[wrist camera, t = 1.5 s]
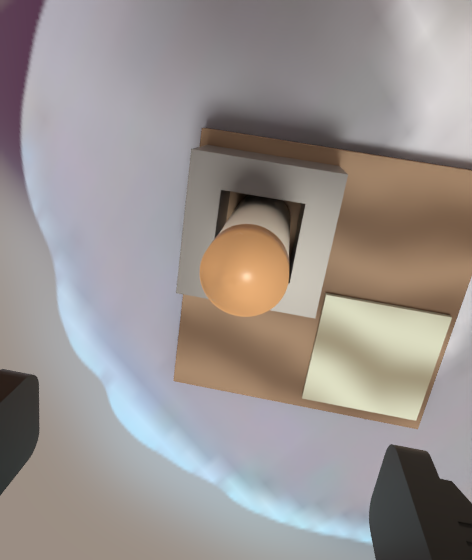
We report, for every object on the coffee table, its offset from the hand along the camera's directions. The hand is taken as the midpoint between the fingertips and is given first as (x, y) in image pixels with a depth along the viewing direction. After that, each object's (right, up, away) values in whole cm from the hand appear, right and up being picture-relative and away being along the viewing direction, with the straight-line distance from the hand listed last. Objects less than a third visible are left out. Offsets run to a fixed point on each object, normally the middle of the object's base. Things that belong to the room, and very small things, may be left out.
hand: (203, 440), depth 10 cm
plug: (+3, +8, +22) cm, 23 cm away
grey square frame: (+3, +8, +22) cm, 23 cm away
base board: (+7, +3, +24) cm, 25 cm away
